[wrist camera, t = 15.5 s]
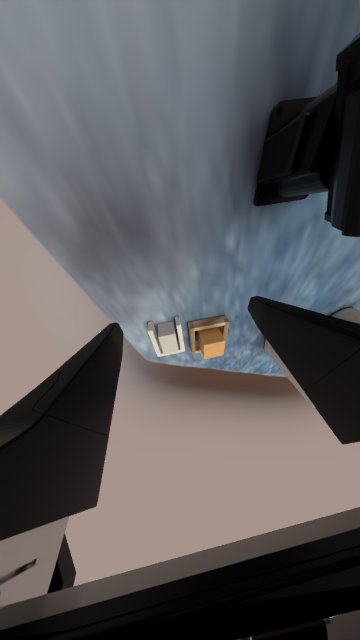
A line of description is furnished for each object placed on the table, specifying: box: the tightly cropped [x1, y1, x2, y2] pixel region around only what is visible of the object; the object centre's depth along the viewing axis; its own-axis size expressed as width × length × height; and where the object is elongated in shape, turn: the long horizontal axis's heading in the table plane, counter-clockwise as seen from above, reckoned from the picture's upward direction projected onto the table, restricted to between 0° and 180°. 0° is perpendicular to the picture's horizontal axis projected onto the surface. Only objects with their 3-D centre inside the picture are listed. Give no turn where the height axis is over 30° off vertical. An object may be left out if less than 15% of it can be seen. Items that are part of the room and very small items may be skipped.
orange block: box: [197, 327, 225, 359], centre depth 26 cm, size 4×4×5 cm
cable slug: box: [158, 321, 179, 354], centre depth 25 cm, size 3×5×4 cm, turn 7°
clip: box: [148, 316, 185, 357], centre depth 25 cm, size 6×8×2 cm
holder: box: [188, 315, 229, 354], centre depth 27 cm, size 8×8×2 cm
